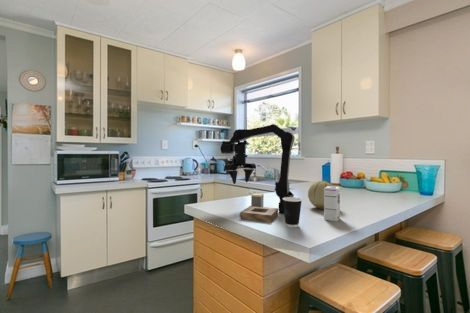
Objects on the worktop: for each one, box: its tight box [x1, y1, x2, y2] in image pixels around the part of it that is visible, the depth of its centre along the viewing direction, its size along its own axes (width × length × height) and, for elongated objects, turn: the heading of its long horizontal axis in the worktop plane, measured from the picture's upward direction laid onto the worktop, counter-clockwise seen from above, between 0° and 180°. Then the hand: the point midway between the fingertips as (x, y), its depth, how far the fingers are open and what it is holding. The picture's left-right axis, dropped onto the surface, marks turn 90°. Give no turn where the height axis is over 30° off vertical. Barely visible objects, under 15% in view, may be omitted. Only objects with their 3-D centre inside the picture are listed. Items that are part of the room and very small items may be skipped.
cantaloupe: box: [307, 179, 334, 210], centre depth 134 cm, size 15×15×15 cm
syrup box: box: [323, 185, 341, 222], centre depth 113 cm, size 6×6×14 cm
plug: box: [250, 192, 264, 207], centre depth 130 cm, size 5×5×8 cm
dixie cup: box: [283, 196, 303, 228], centre depth 103 cm, size 8×8×11 cm
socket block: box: [239, 205, 279, 223], centre depth 116 cm, size 14×14×3 cm
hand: (240, 183), depth 133 cm, fingers open, 9 cm apart
